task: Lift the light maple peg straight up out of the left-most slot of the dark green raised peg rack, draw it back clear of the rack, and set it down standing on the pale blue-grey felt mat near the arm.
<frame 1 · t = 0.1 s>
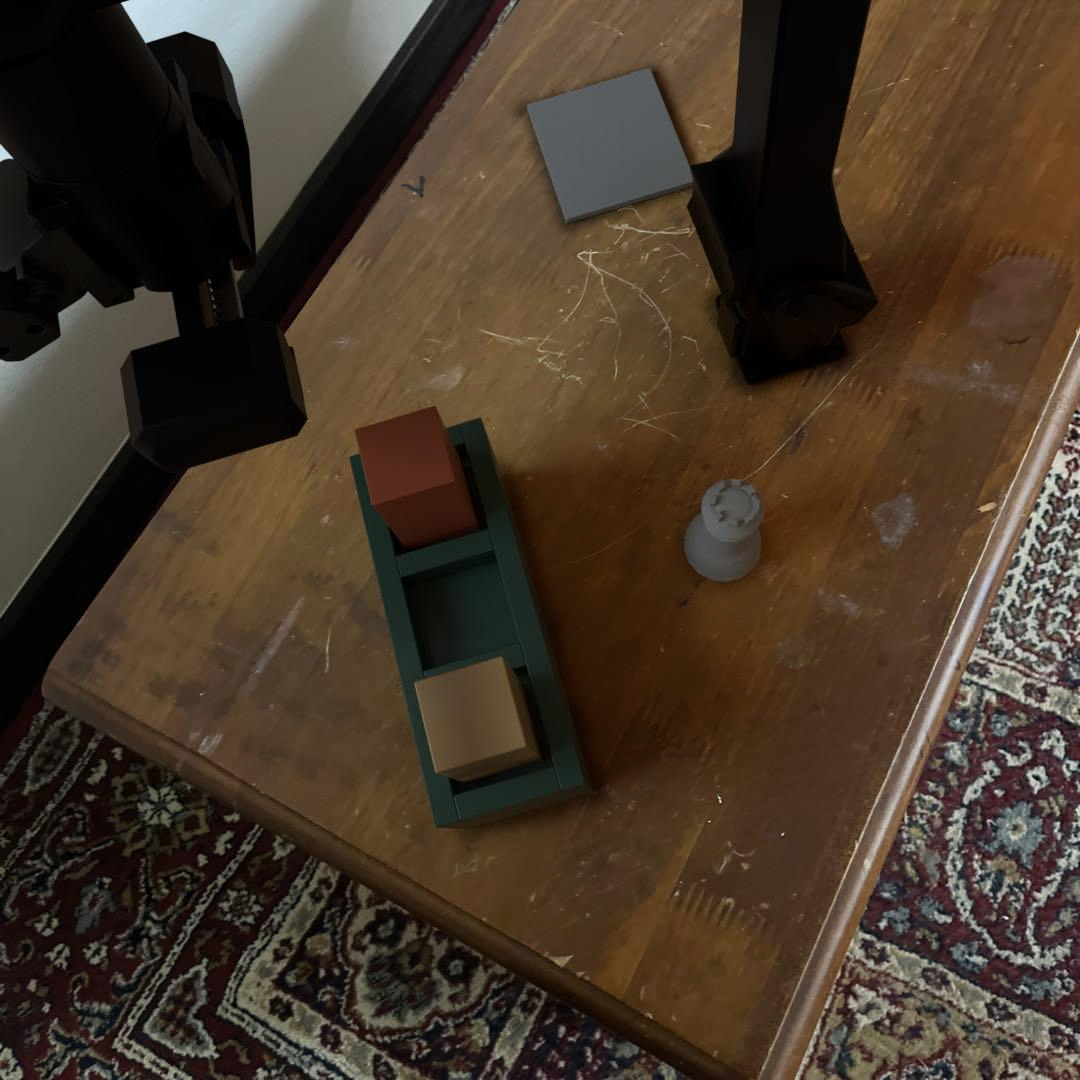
hand: (262, 343, 47), 15 cm above the table, tool pointing down, fingers open, 9 cm apart
maple peg: (483, 724, 44), point 10 cm above the table, touching rack
rook chess piece: (721, 548, 57), on the table
terracotta peg: (422, 485, 48), point 10 cm above the table, touching rack
rack: (485, 642, 56), on the table
mat: (609, 146, 66), on the table
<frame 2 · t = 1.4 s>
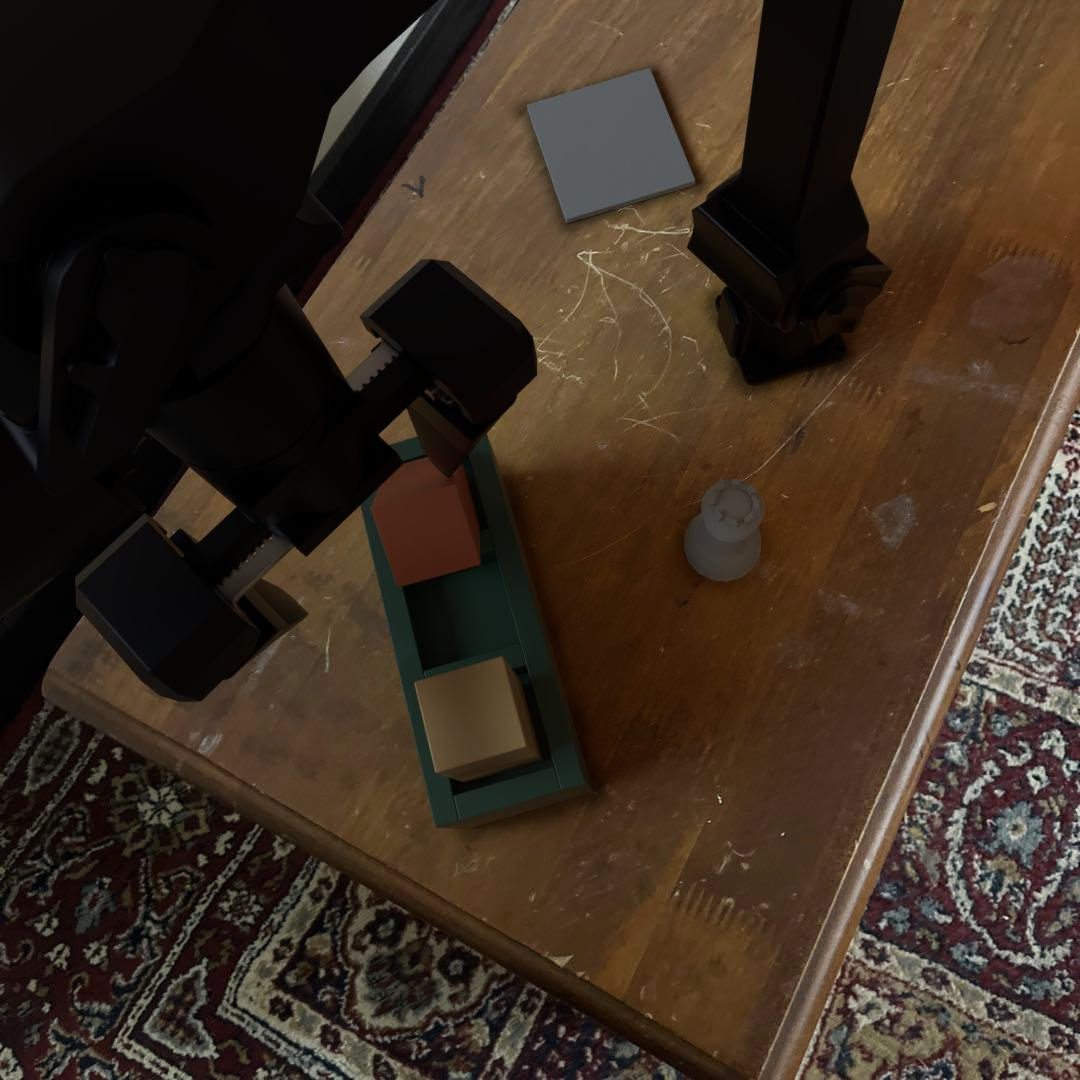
hand: (372, 538, 44), 14 cm above the table, tool pointing down, fingers open, 9 cm apart
terracotta peg: (429, 513, 47), point 11 cm above the table, tilted 36°, touching gripper, rack
everything else where it was.
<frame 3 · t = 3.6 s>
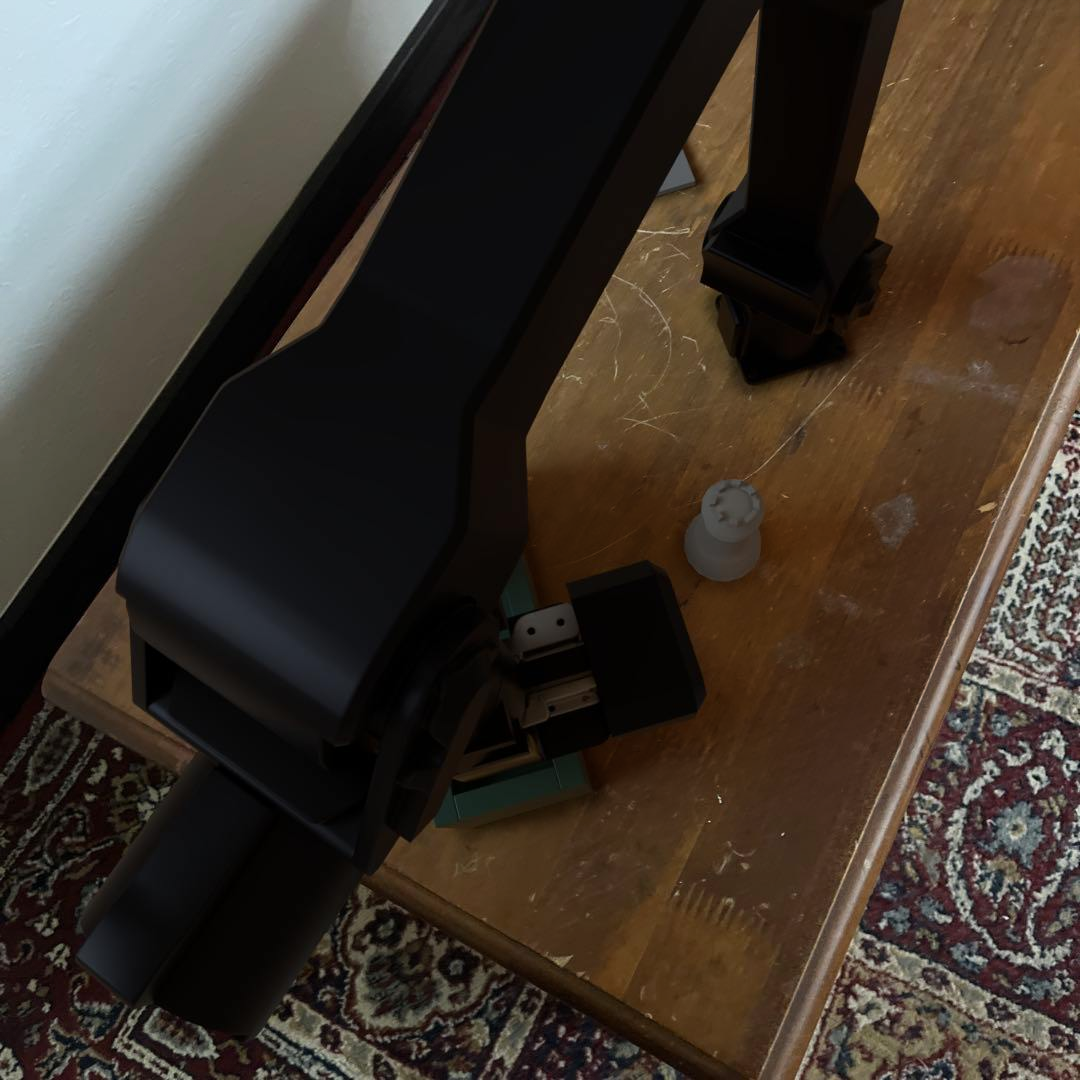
hand: (487, 726, 45), 10 cm above the table, tool pointing down, fingers closed on maple peg, 4 cm apart
maple peg: (483, 724, 44), point 10 cm above the table, touching gripper, rack
terracotta peg: (432, 518, 47), point 11 cm above the table, tilted 50°, touching rack
everything else where it was.
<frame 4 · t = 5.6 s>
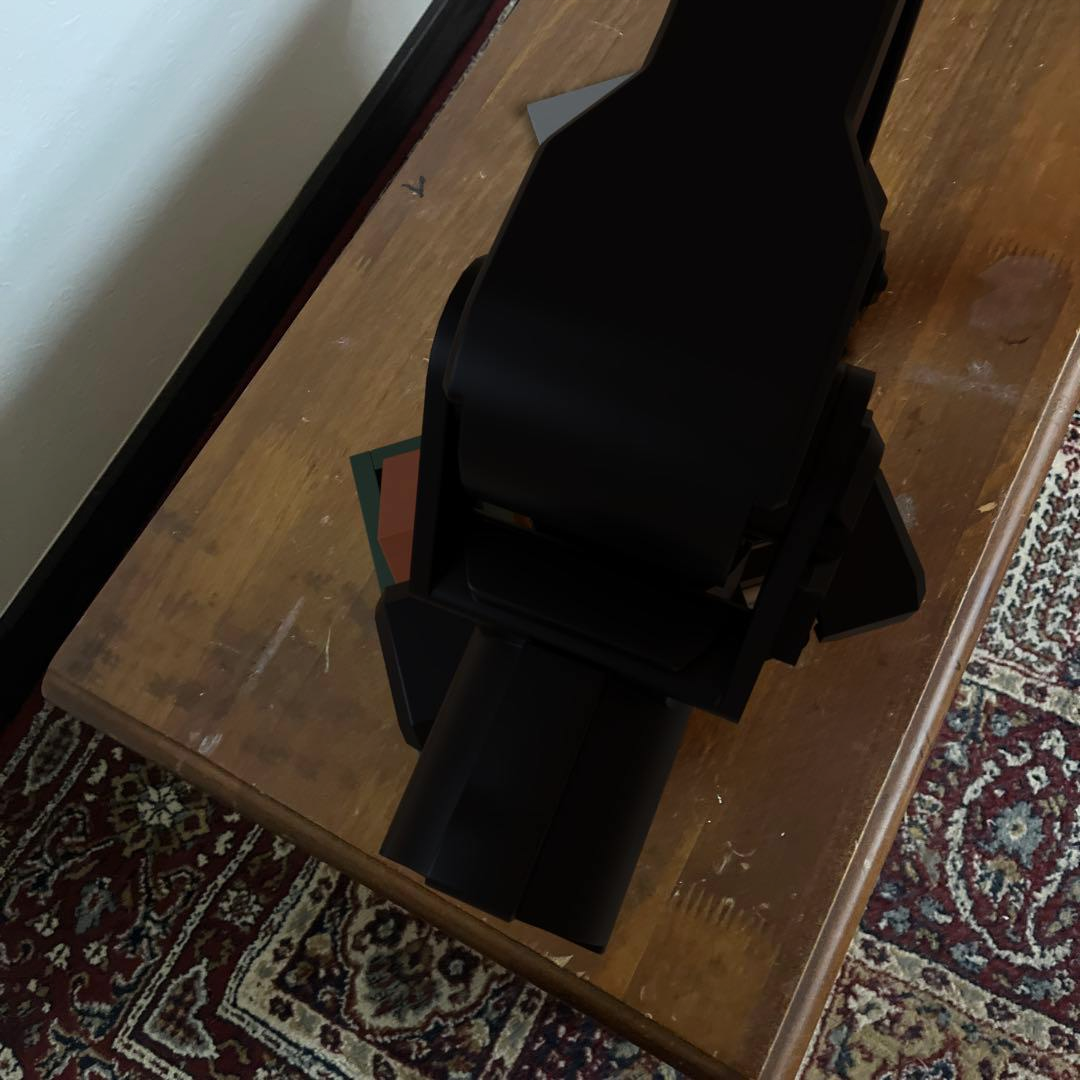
hand: (642, 646, 42), 13 cm above the table, tool pointing down, fingers closed on maple peg, 4 cm apart
maple peg: (642, 643, 41), point 14 cm above the table, touching gripper
everything else where it was.
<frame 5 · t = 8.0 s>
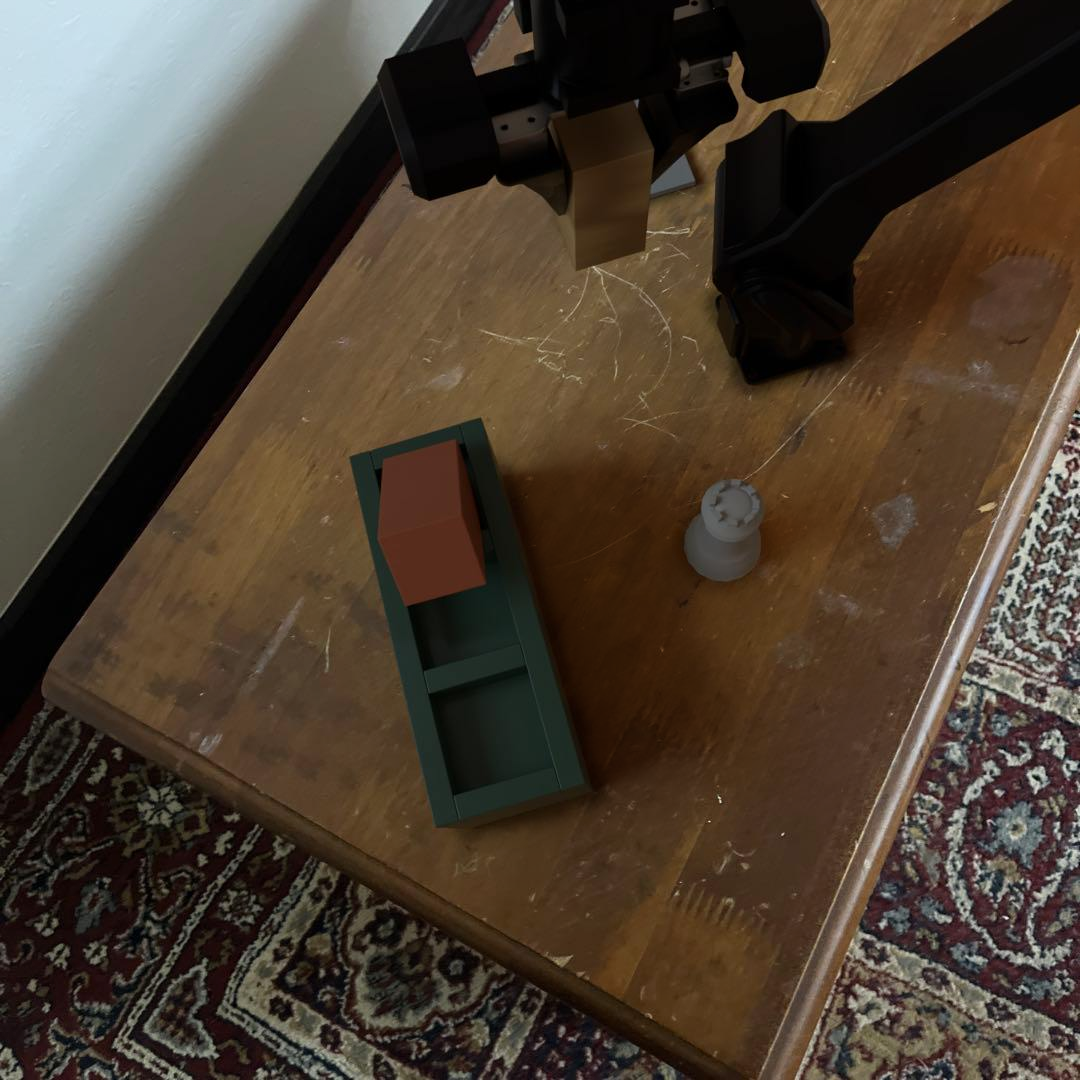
hand: (599, 195, 49), 13 cm above the table, tool pointing down, fingers closed on maple peg, 4 cm apart
maple peg: (599, 183, 48), point 14 cm above the table, touching gripper
everything else where it was.
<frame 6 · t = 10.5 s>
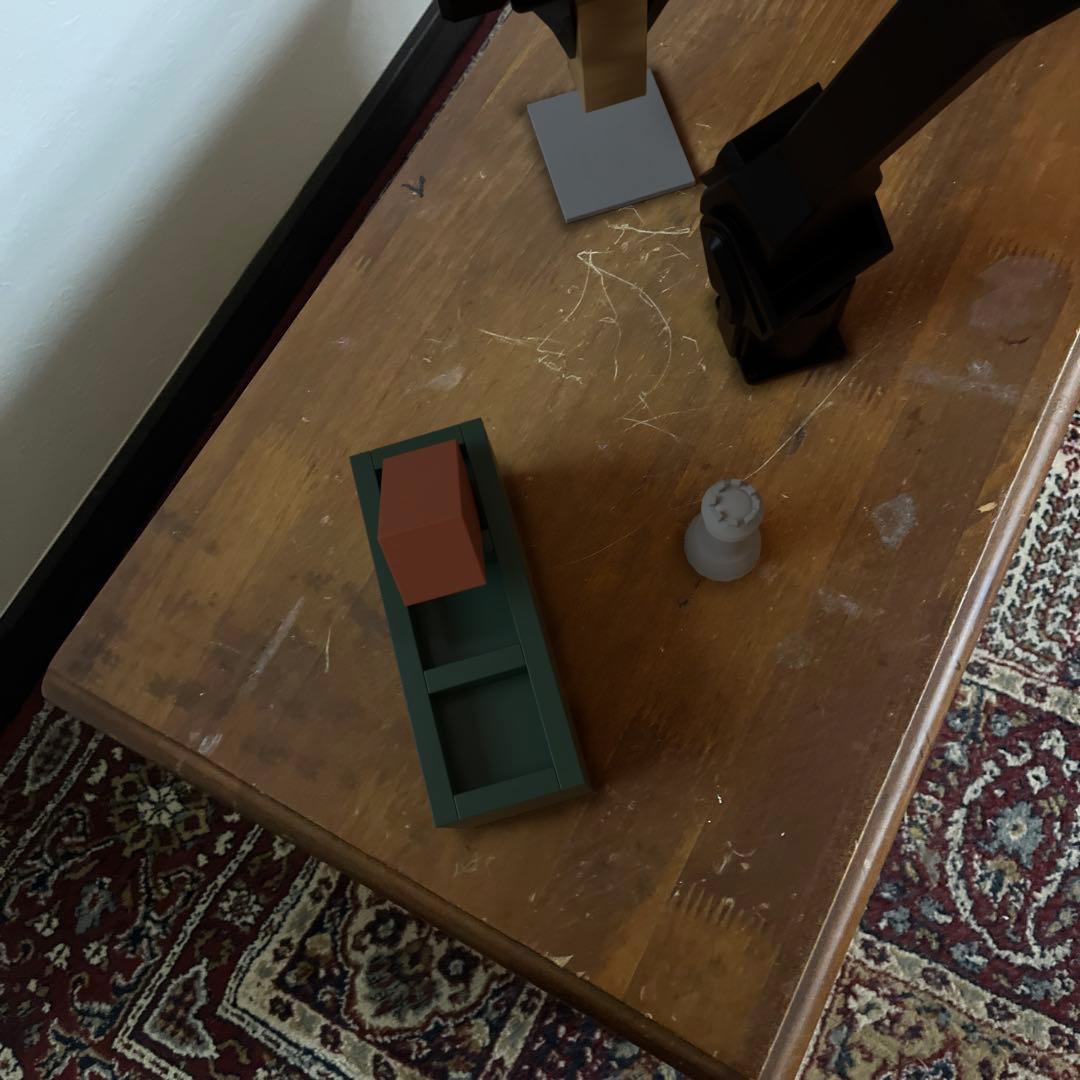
hand: (605, 42, 57), 9 cm above the table, tool pointing down, fingers closed on maple peg, 4 cm apart
maple peg: (604, 28, 56), point 10 cm above the table, touching gripper
everything else where it was.
when the fingers open (3 cm above the table, at t = 12.4 s): maple peg stays where it is, resting on mat.
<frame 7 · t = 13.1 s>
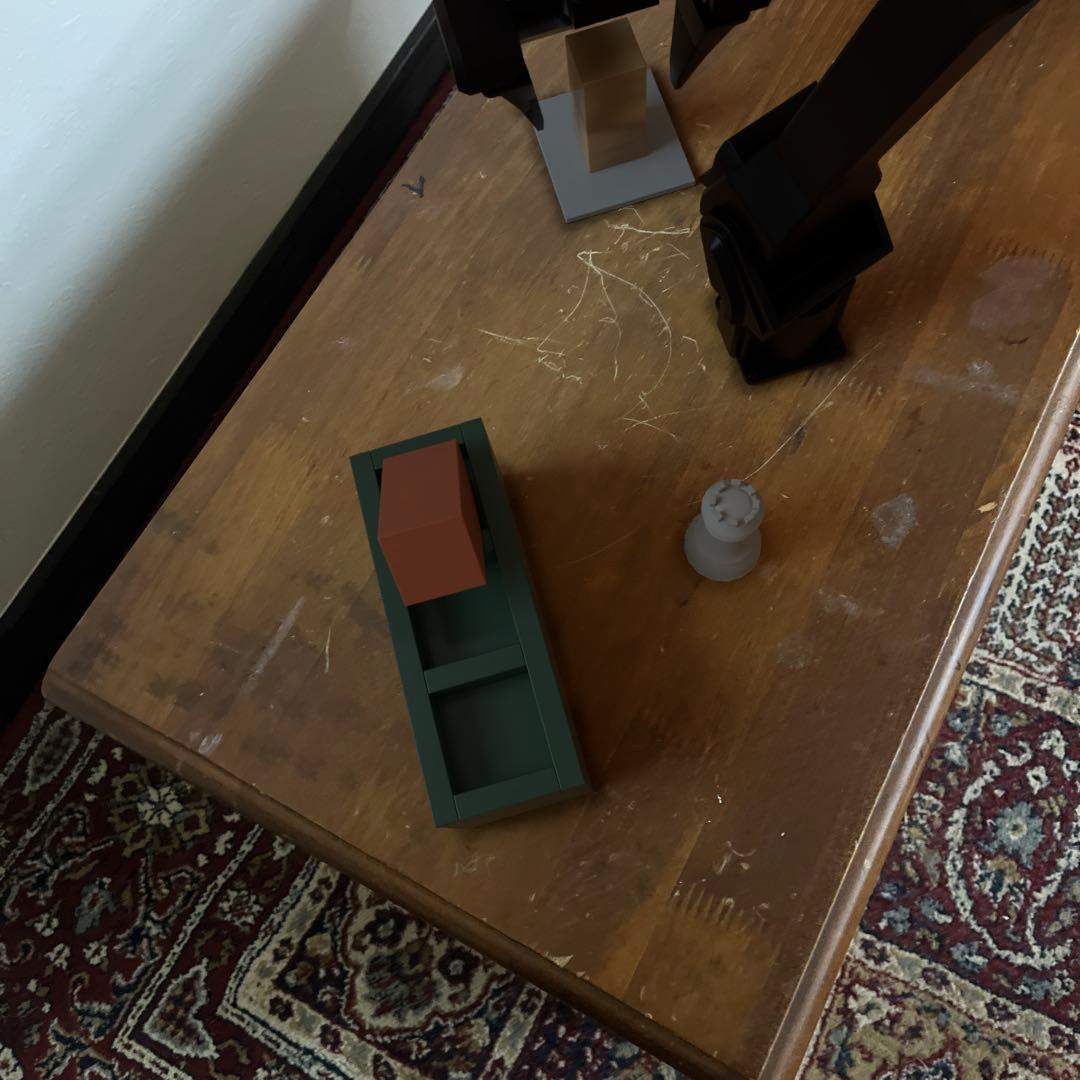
hand: (607, 104, 62), 4 cm above the table, tool pointing down, fingers open, 9 cm apart
maple peg: (607, 99, 61), point 4 cm above the table, touching mat
everything else where it was.
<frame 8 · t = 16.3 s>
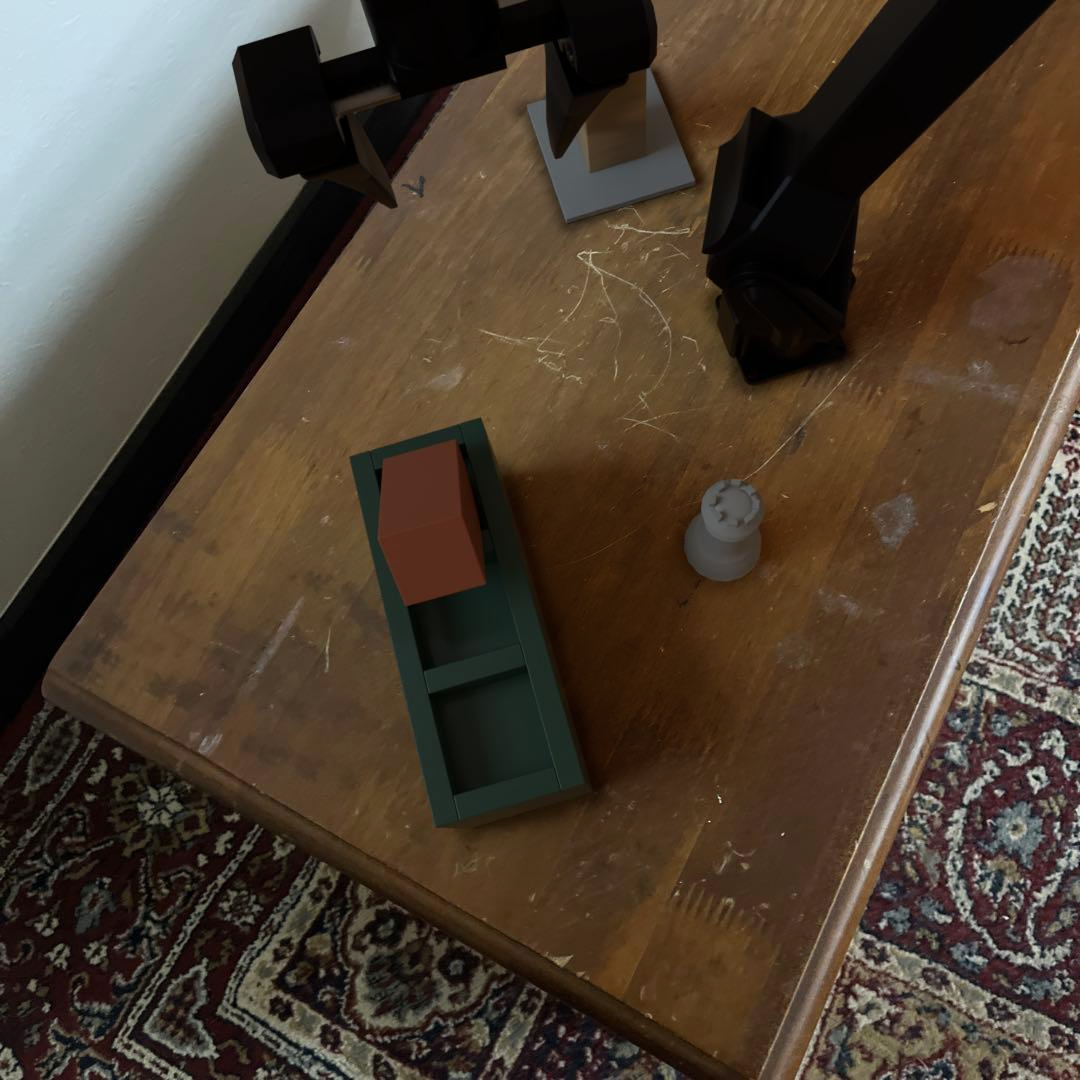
hand: (474, 176, 52), 12 cm above the table, tool pointing down, fingers open, 9 cm apart
nothing on the table moved.
at the end: maple peg inside the target area on the mat (0.1 cm from its centre), point 4.5 cm above the mat's base; maple peg tilted 0°; the gripper is holding nothing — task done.
